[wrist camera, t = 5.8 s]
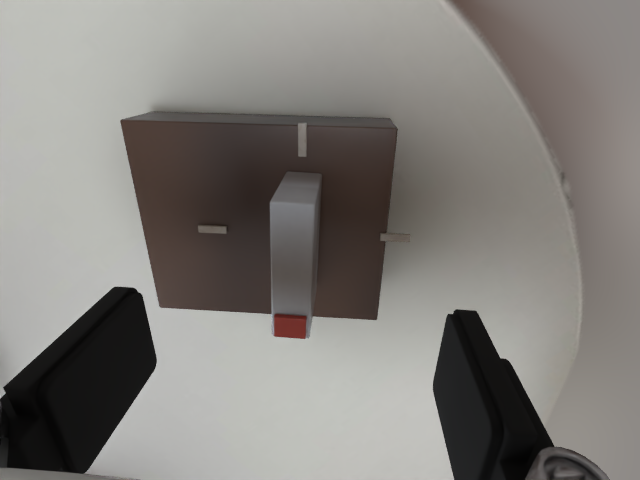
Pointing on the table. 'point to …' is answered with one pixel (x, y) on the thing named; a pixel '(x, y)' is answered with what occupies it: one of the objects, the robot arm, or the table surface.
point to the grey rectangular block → (294, 253)
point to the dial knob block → (260, 205)
